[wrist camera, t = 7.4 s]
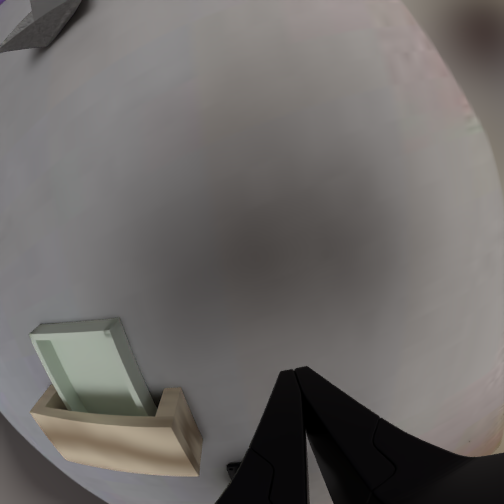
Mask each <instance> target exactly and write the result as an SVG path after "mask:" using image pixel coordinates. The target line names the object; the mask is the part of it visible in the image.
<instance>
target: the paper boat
mask: <svg viewBox="0 0 504 504" xmlns="http://www.w3.org/2000/svg"><path fill="white" fill-rule="evenodd" d="M30 2H31V8H32V11H31V12H30V13H29V14H28V15H27V16H26V17H25V18H24V19H23V20H22V21H21V22H20V23H19V24H18V25H17V26H16V28H15V29H14V30H13V31H12V32H11V33H10V34H9V35H8V37H7V38H6V39H5V40H4V41H3V43H2V44H1V45H0V53H2V52H7V51H14V50H21V49H29V48H38V47H47V46H48V45H49V44H50V43H51V42H52V41H53V40H54V39H55V38H56V36H57V35H58V34H59V32H60V31H61V30H62V28H63V27H64V26H65V25H66V23H67V22H68V21H69V19H70V18H71V17H72V16H73V14H74V13H75V11H76V9H77V8H78V6H79V4H80V2H81V0H30Z"/></svg>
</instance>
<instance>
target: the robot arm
mask: <svg viewBox="0 0 504 504" xmlns="http://www.w3.org/2000/svg"><path fill="white" fill-rule="evenodd" d="M306 434H307V437H308V440H309V443H310V445H311V448H312V450H313V453H314V455H315V458H316V461H317V463H318V466H319V468H320V471H321V473H322V476H323V478H324V481H325V483H326V486H327V488H328V491H329V493H330V496H331V498H332V501H333V503H334V504H504V453H499V454H494V455H488V456H481V457H467V456H462V455H458V454H455V453H452V452H450V451H447V450H445V449H442V448H440V447H437V446H435V445H432V444H430V443H428V442H425V441H423V440H421V439H419V438H416V437H414V436H412V435H410V434H408V433H406V432H404V431H402V430H401V429H399V428H397V427H396V426H394V425H392V424H391V423H389V422H387V421H386V420H384V419H383V418H380V417H379V416H378V415H377V414H375V413H374V412H372V411H371V410H369V409H368V408H366V407H365V406H363V405H362V404H360V403H359V402H357V401H356V400H354V399H353V398H351V397H350V396H349V395H347V394H346V393H344V392H343V391H341V390H340V389H339V388H337V387H336V386H334V385H333V384H331V383H330V382H329V381H327V380H326V379H324V378H323V377H322V376H320V375H319V374H318V373H316V372H315V371H313V370H312V369H311V368H309V367H308V366H304V367H300V368H296V369H295V370H293V369H290V370H285V371H281V372H280V373H279V376H278V378H277V381H276V383H275V386H274V388H273V391H272V393H271V396H270V398H269V401H268V403H267V406H266V408H265V411H264V413H263V416H262V418H261V420H260V423H259V425H258V427H257V430H256V432H255V434H254V437H253V439H252V441H251V443H250V446H249V449H248V450H247V452H246V454H245V456H244V459H243V461H242V463H241V464H229V465H227V471H228V473H229V475H230V478H231V482H230V483H229V485H228V486H227V488H226V489H225V490H224V492H223V493H222V495H221V496H220V497H219V499H218V500H217V501H216V503H215V504H310V500H309V478H308V459H307V443H306Z"/></svg>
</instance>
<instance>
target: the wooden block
mask: <svg viewBox="0 0 504 504" xmlns="http://www.w3.org/2000/svg"><path fill="white" fill-rule="evenodd" d="M30 413H31V415H32V416H33V418H34V419H35V421H36V422H37V424H38V425H39V426H40V428H41V429H42V431H43V432H44V433H45V435H46V436H47V437H48V439H49V440H50V441H51V442H52V444H53V445H54V446H55V447H56V449H57V450H58V451H59V452H60V454H61V455H62V456H63V457H64V458H65V459H66V460H68V461H71V462H76V463H80V464H84V465H89V466H94V467H99V468H104V469H110V470H116V471H123V472H131V473H139V474H150V475H163V476H199V471H200V461H201V452H202V442H203V438H202V436H201V434H200V432H199V430H198V427H197V425H196V423H195V421H194V418H193V416H192V414H191V411H190V409H189V406H188V404H187V402H186V399H185V397H184V394H183V392H182V389H181V387H179V388H164V391H163V394H162V397H161V400H160V403H159V406H158V409H157V412H156V416H155V417H152V416H120V415H105V414H94V413H84V412H76V411H68V409H67V407H66V406H65V404H64V403H63V401H62V399H61V398H60V396H59V394H58V392H57V391H56V389H55V387H54V385H50V386H49V388H48V389H47V390H46V391H45V393H44V394H43V395H42V396H41V398H40V399H39V400H38V402H37V403H36V404H35V406H34V407H33V408H32V409H31V411H30Z"/></svg>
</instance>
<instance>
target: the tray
mask: <svg viewBox="0 0 504 504" xmlns="http://www.w3.org/2000/svg"><path fill="white" fill-rule="evenodd" d="M29 336H30V339H31V341H32V343H33V345H34V348H35V350H36V352H37V354H38V356H39V358H40V360H41V362H42V364H43V366H44V368H45V370H46V372H47V374H48V376H49V378H50V380H51V382H52V384H53V385H54V387H55V389H56V391H57V392H58V394H59V396H60V398H61V399H62V401H63V403H64V404H65V406H66V407H67V409H68V411H76V412H84V413H94V414H105V415H120V416H152V417H155V416H156V412H157V407H156V405H155V403H154V401H153V399H152V397H151V395H150V392H149V390H148V388H147V386H146V384H145V381H144V379H143V377H142V374H141V372H140V370H139V367H138V365H137V363H136V360H135V358H134V355H133V353H132V350H131V347H130V345H129V342H128V340H127V337H126V334H125V331H124V329H123V326H122V323H121V320H120V318H112V319H102V320H91V321H79V322H66V323H51V324H40V325H39V326H38V327H37V328H35V329H34V330H33V331H32V332H31V333H29Z"/></svg>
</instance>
